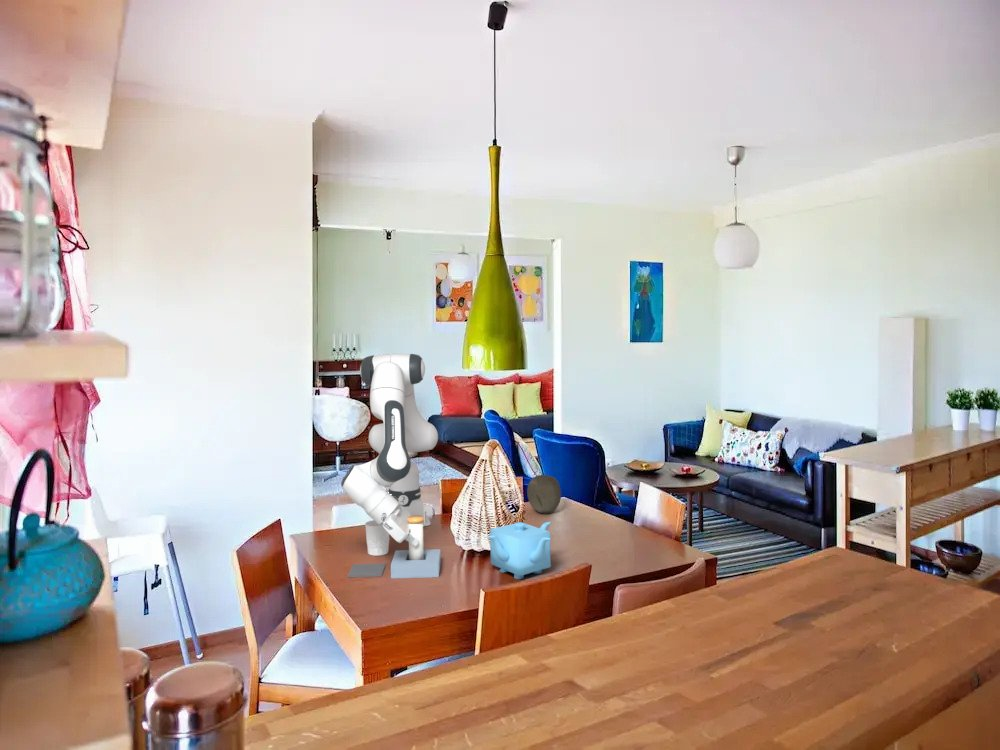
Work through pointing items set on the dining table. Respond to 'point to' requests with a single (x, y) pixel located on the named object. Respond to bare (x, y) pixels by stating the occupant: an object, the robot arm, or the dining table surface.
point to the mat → (367, 570)
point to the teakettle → (520, 548)
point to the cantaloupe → (544, 493)
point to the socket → (416, 564)
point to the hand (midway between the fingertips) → (418, 541)
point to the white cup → (376, 538)
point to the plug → (416, 531)
